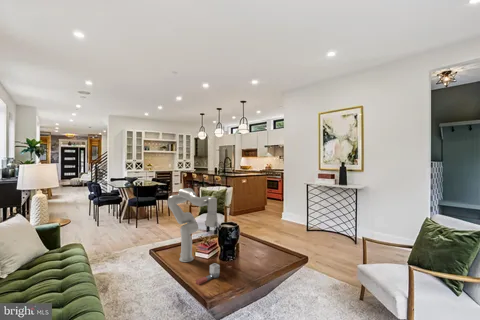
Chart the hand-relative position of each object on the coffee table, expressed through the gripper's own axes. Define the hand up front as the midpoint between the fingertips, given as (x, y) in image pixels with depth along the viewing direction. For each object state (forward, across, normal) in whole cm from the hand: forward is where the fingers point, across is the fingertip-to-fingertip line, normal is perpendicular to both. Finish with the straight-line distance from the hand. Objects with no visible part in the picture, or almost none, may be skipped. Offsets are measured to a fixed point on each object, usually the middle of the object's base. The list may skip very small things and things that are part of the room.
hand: (211, 233), depth 206 cm
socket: (+26, +14, -9) cm, 31 cm away
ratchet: (+28, +14, -15) cm, 35 cm away
